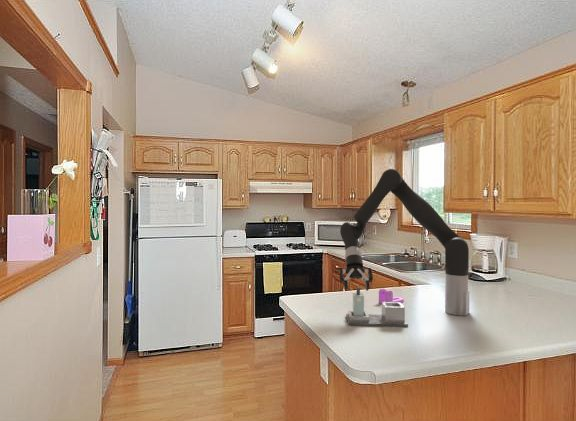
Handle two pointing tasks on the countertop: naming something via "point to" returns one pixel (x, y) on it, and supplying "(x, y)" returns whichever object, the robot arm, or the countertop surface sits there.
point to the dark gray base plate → (381, 316)
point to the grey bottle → (358, 303)
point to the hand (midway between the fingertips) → (357, 289)
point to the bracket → (388, 296)
